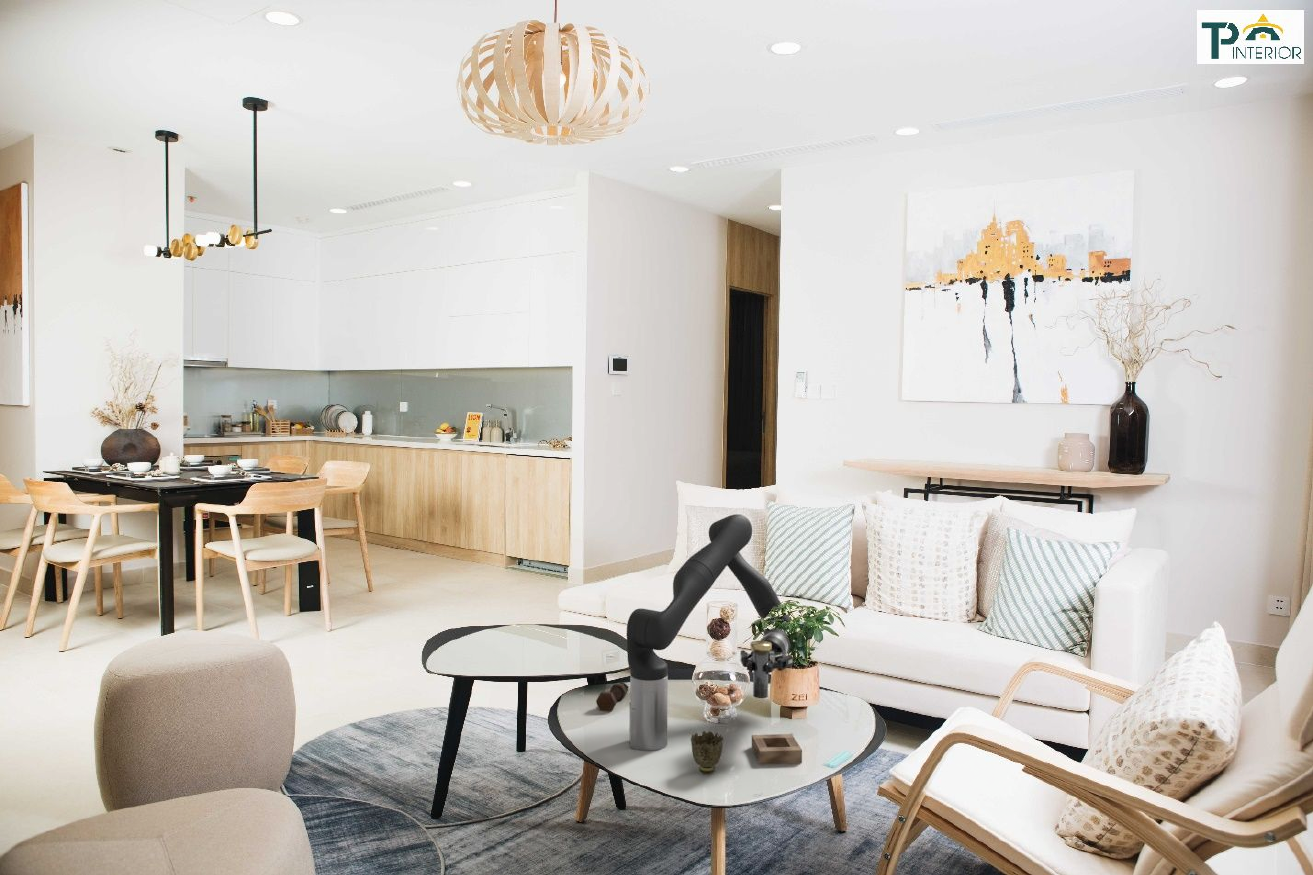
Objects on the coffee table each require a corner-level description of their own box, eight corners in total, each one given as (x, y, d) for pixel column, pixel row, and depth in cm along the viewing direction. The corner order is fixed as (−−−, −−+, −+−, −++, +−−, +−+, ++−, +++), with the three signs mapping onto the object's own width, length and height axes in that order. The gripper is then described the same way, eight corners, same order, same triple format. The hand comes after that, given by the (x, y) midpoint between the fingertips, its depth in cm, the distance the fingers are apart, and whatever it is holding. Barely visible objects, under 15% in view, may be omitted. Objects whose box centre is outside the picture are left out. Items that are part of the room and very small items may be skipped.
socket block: (759, 764, 207) (760, 751, 207) (751, 747, 217) (751, 735, 217) (801, 762, 208) (802, 750, 208) (791, 745, 218) (791, 733, 217)
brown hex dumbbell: (625, 700, 255) (607, 716, 241) (611, 690, 256) (592, 705, 242) (635, 684, 254) (617, 699, 240) (621, 674, 255) (602, 688, 241)
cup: (699, 780, 198) (699, 745, 197) (685, 767, 205) (685, 733, 204) (728, 774, 201) (729, 740, 200) (713, 762, 208) (714, 729, 207)
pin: (752, 699, 214) (752, 646, 214) (747, 692, 220) (748, 640, 219) (773, 699, 215) (773, 646, 214) (768, 691, 220) (769, 640, 220)
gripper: (745, 633, 232) (730, 651, 216) (799, 637, 228) (787, 656, 212) (745, 661, 233) (729, 681, 217) (798, 666, 229) (787, 687, 212)
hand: (758, 669), depth 214 cm, fingers closed on pin, 3 cm apart
